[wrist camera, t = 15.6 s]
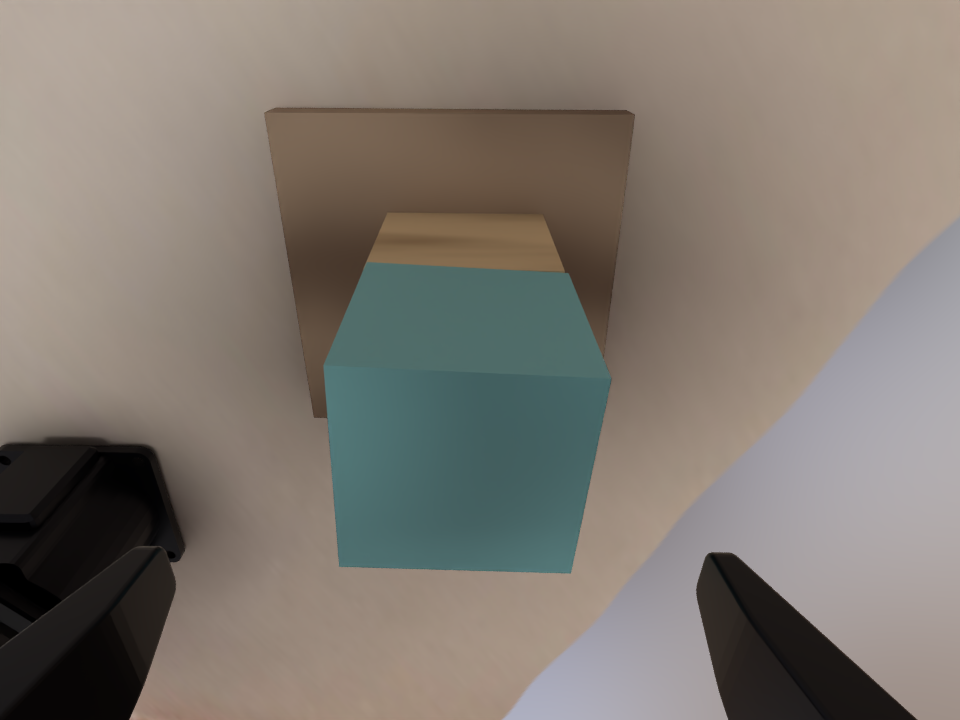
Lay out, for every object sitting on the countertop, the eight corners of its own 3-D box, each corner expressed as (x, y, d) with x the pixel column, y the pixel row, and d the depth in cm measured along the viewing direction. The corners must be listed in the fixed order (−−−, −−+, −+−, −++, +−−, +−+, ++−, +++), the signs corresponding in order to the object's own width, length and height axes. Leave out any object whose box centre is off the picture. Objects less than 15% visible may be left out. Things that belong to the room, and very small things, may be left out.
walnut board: (586, 389, 25) (595, 416, 23) (325, 389, 24) (314, 417, 23) (619, 106, 19) (634, 114, 17) (283, 104, 19) (264, 112, 17)
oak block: (533, 349, 21) (549, 432, 17) (396, 348, 21) (377, 431, 17) (542, 214, 19) (564, 270, 15) (387, 212, 19) (363, 268, 14)
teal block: (544, 433, 17) (570, 573, 13) (372, 426, 17) (339, 566, 12) (568, 273, 15) (611, 378, 10) (366, 262, 14) (323, 365, 10)
